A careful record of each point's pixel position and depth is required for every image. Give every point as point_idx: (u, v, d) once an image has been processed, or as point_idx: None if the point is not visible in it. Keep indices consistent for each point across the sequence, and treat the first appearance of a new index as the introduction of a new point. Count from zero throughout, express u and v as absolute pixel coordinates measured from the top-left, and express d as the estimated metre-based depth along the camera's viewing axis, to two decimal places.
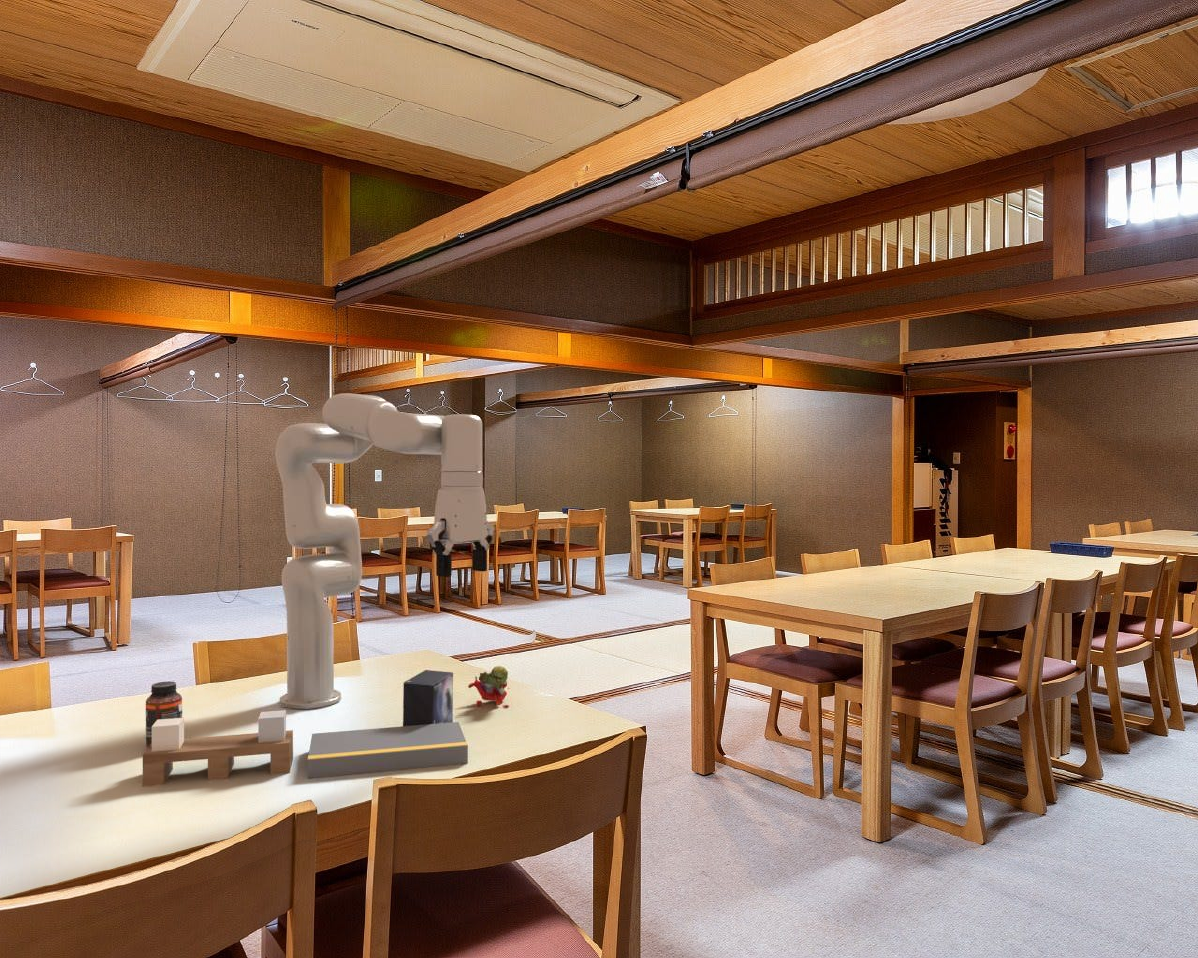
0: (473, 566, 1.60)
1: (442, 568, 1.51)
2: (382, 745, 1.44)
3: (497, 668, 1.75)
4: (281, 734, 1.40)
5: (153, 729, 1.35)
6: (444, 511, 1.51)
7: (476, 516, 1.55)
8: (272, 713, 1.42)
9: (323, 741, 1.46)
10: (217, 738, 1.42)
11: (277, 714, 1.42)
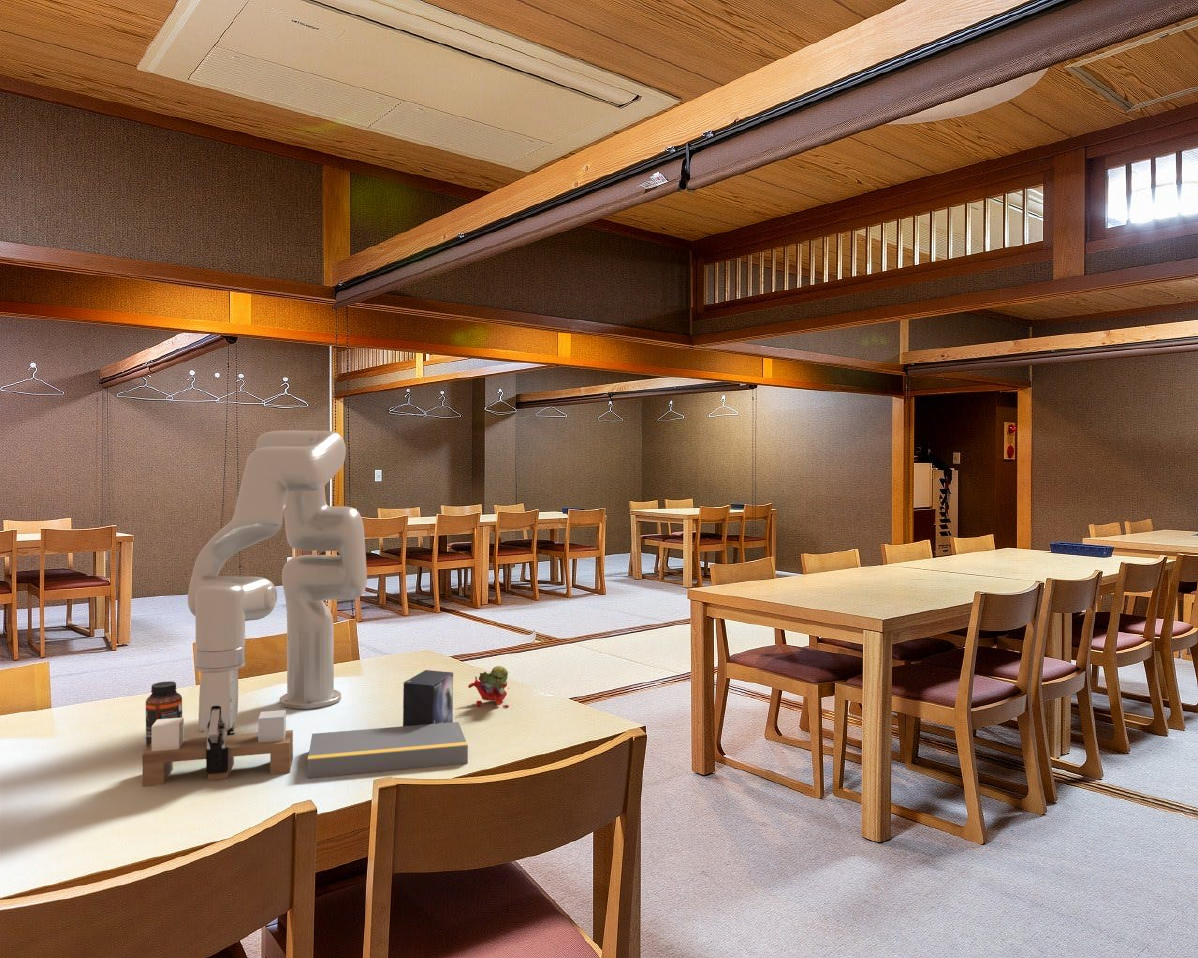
0: None
1: (220, 764, 1.35)
2: (382, 745, 1.44)
3: (497, 668, 1.75)
4: (281, 734, 1.40)
5: (153, 729, 1.35)
6: (217, 697, 1.35)
7: (237, 693, 1.41)
8: (272, 713, 1.42)
9: (323, 741, 1.46)
10: None
11: (277, 714, 1.42)
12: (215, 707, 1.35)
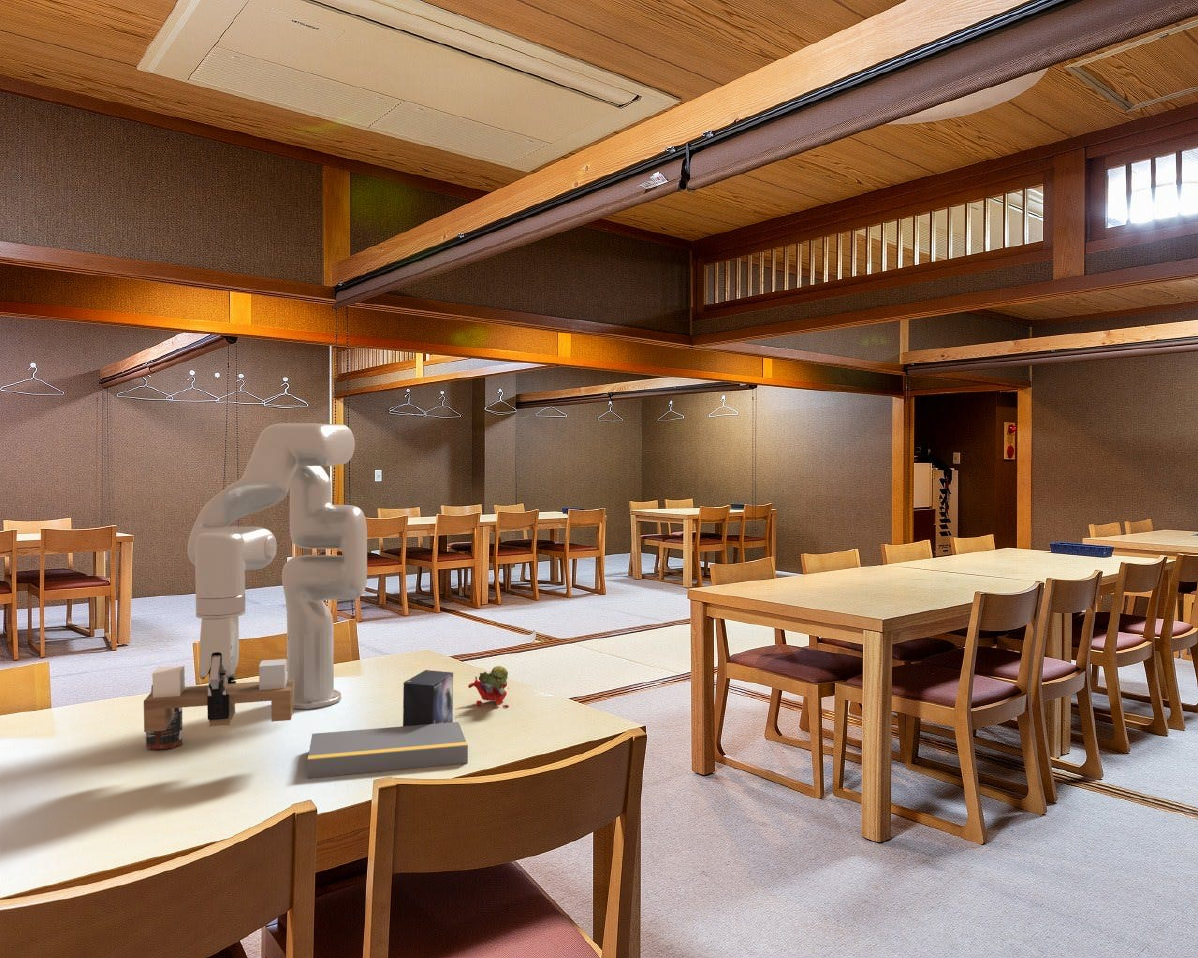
0: None
1: (221, 710, 1.36)
2: (382, 745, 1.44)
3: (497, 668, 1.75)
4: (282, 682, 1.41)
5: (154, 676, 1.35)
6: (218, 644, 1.35)
7: (238, 642, 1.42)
8: (273, 661, 1.43)
9: (323, 741, 1.46)
10: None
11: (277, 663, 1.42)
12: (216, 654, 1.35)
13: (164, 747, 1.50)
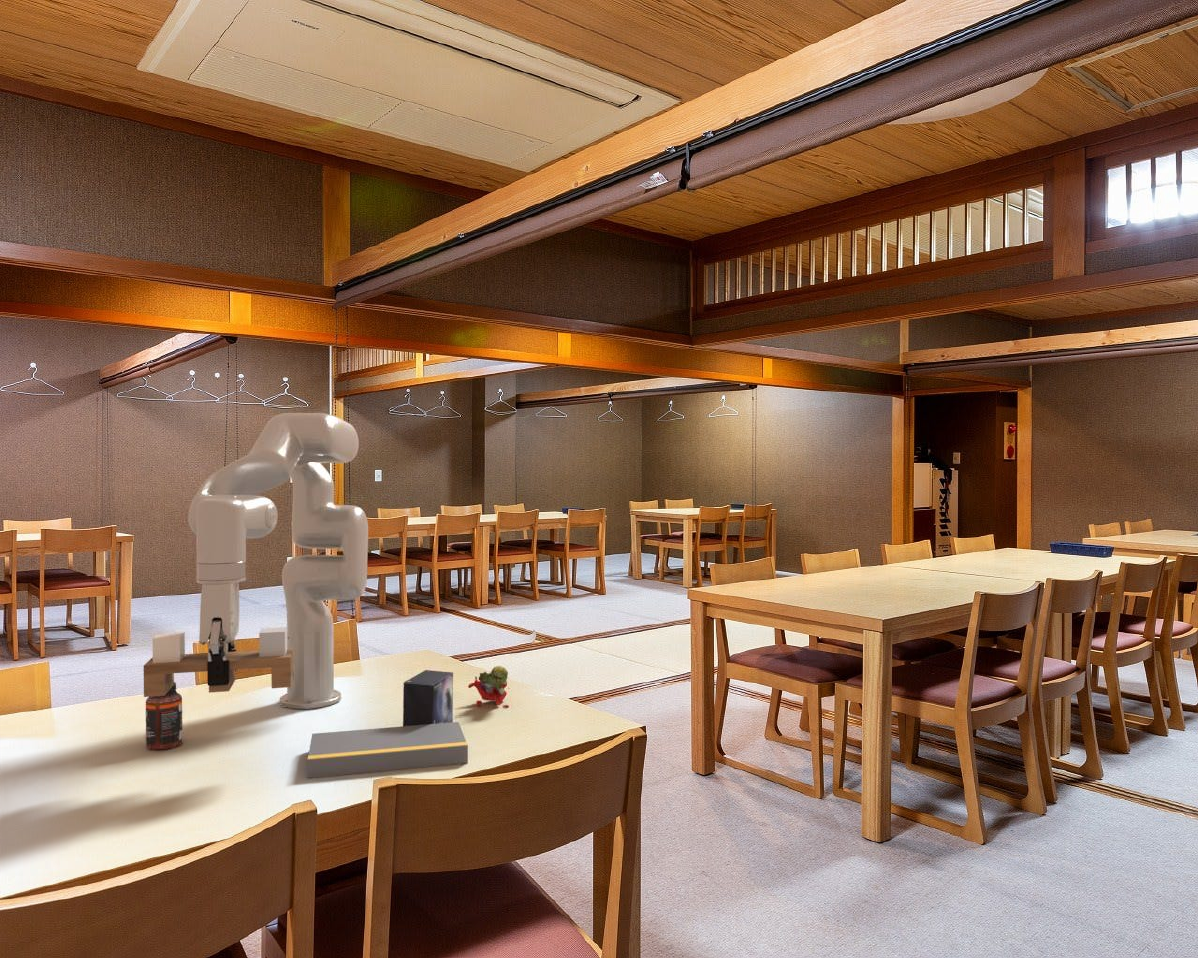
0: None
1: (221, 676, 1.35)
2: (382, 745, 1.44)
3: (497, 668, 1.75)
4: (282, 649, 1.40)
5: (154, 641, 1.35)
6: (218, 609, 1.35)
7: (238, 609, 1.41)
8: (273, 629, 1.42)
9: (323, 741, 1.46)
10: None
11: (278, 630, 1.42)
12: (216, 619, 1.35)
13: (164, 747, 1.50)
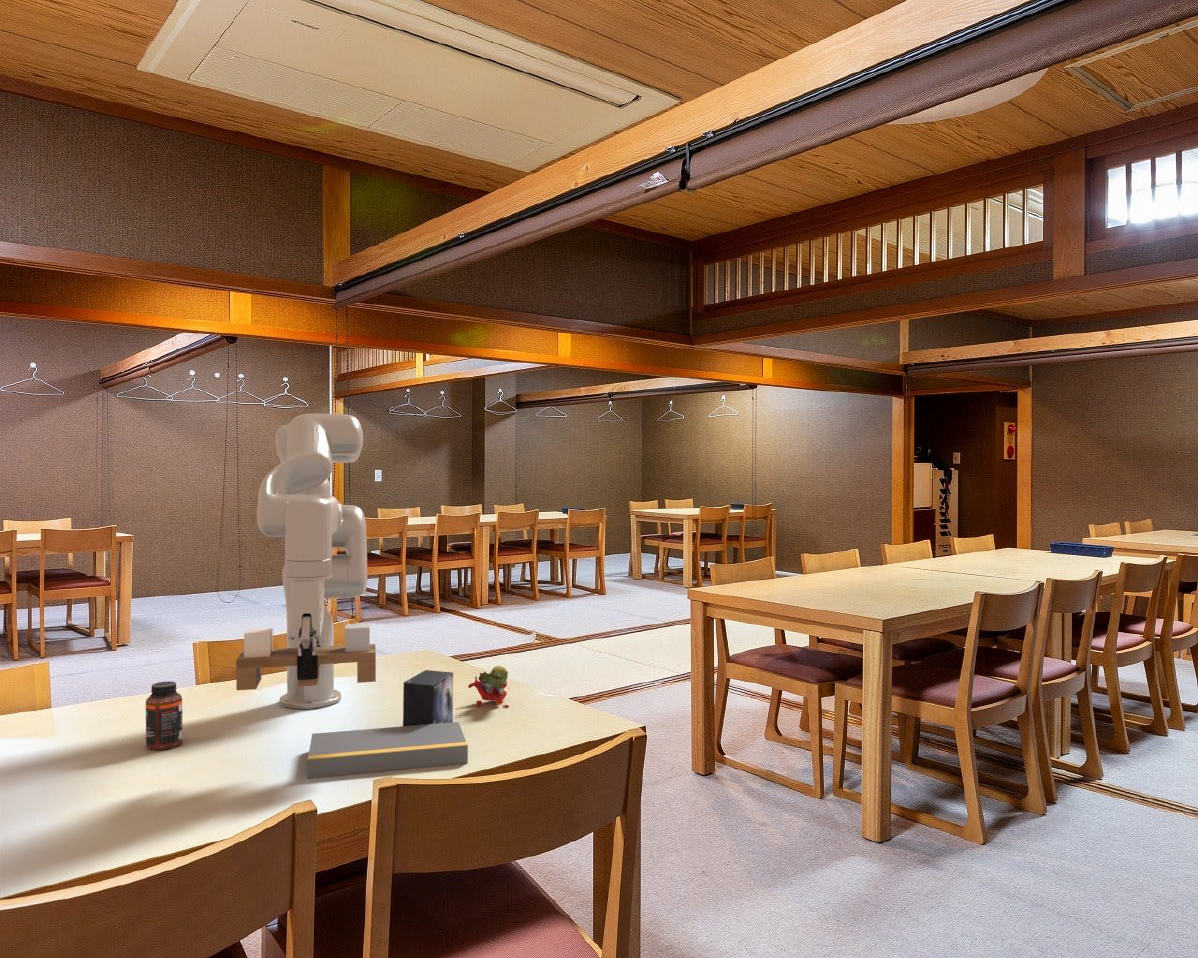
0: None
1: (310, 670, 1.39)
2: (382, 745, 1.44)
3: (497, 668, 1.75)
4: (367, 645, 1.44)
5: (245, 636, 1.39)
6: (308, 605, 1.39)
7: None
8: (357, 625, 1.46)
9: (323, 741, 1.46)
10: None
11: (362, 626, 1.45)
12: (306, 615, 1.39)
13: (164, 747, 1.50)
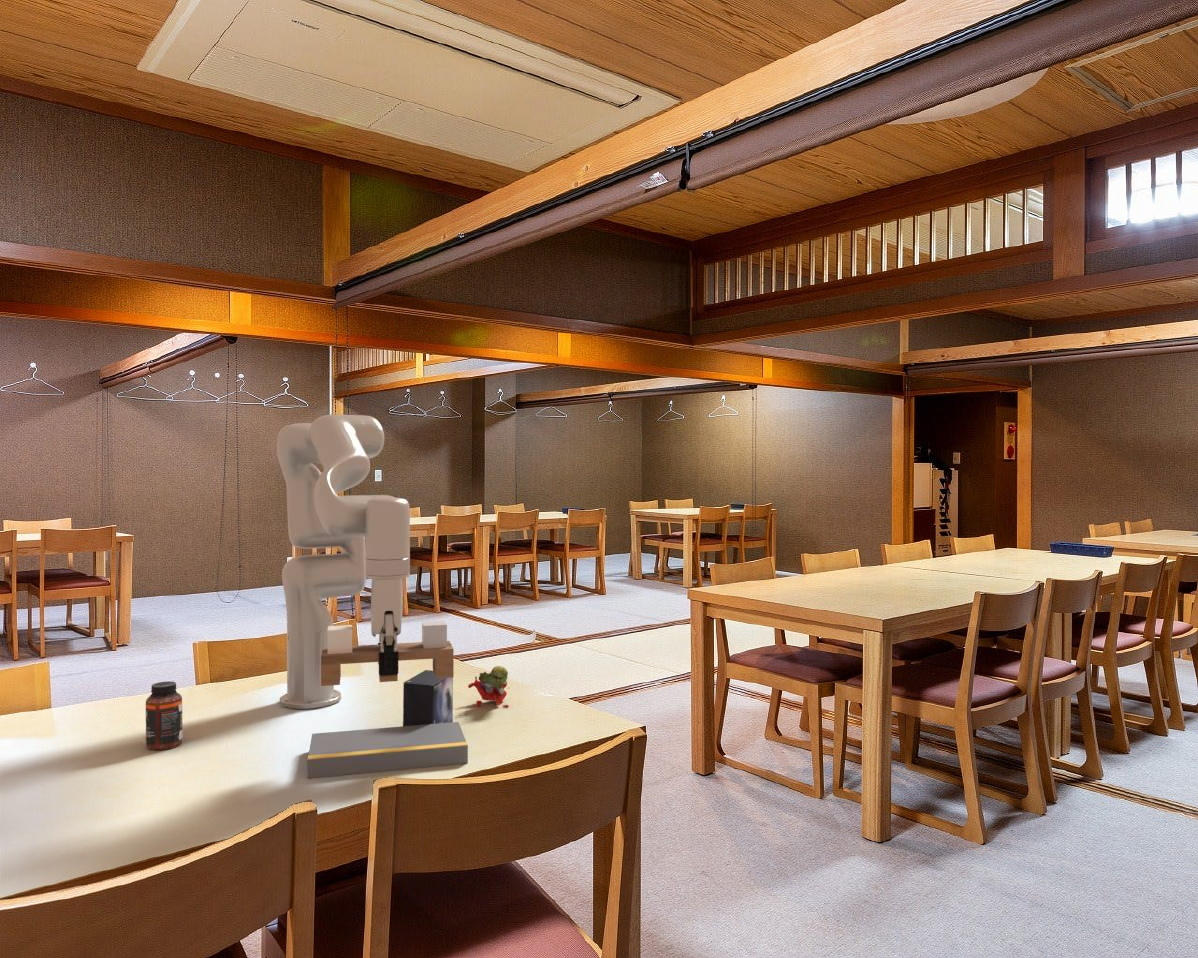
0: None
1: (392, 666, 1.43)
2: (382, 745, 1.44)
3: (497, 668, 1.75)
4: (444, 641, 1.48)
5: (329, 633, 1.42)
6: (390, 603, 1.42)
7: None
8: (433, 622, 1.50)
9: (323, 741, 1.46)
10: None
11: (439, 623, 1.49)
12: (388, 612, 1.42)
13: (164, 747, 1.50)
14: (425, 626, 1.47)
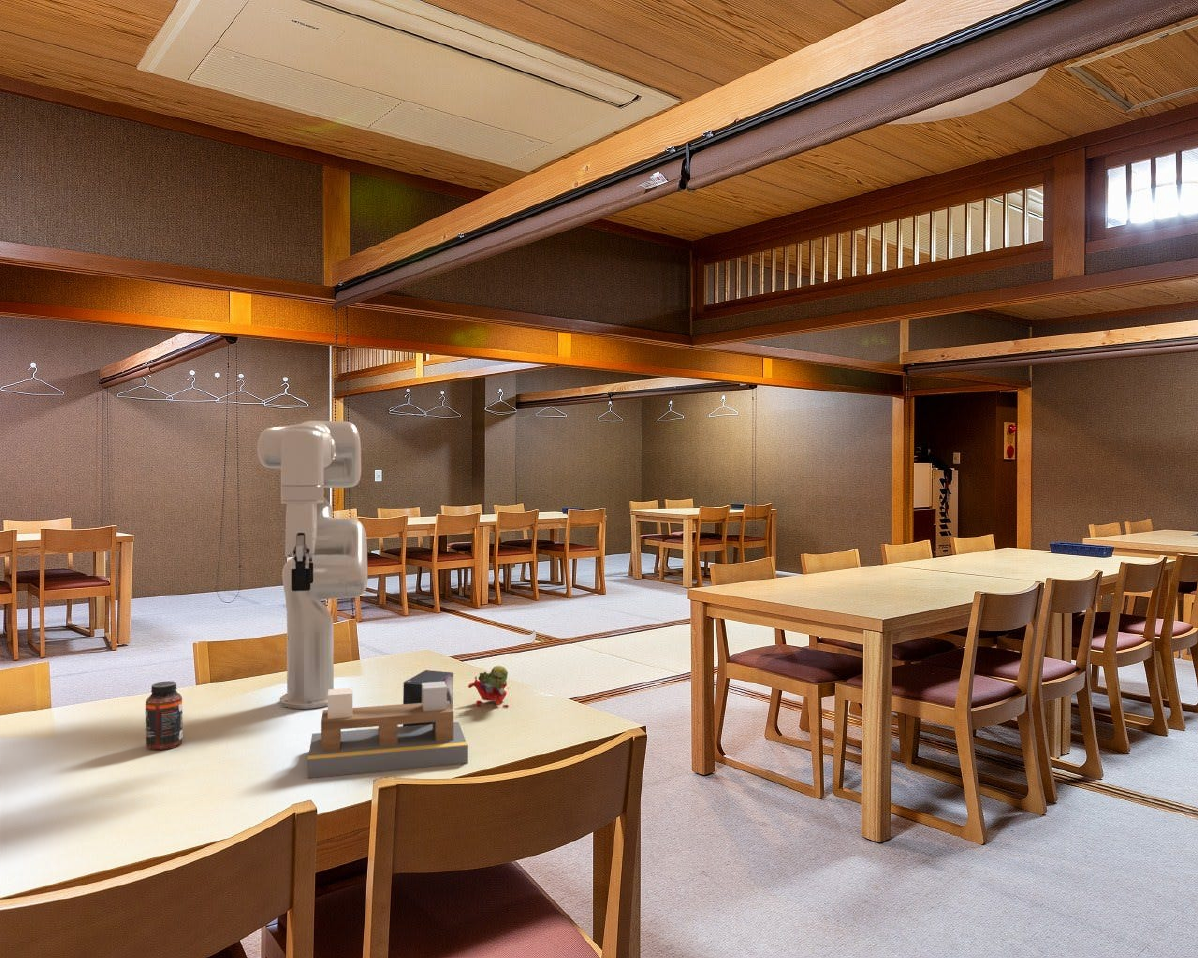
0: None
1: (304, 582, 1.52)
2: None
3: (497, 668, 1.75)
4: (444, 704, 1.48)
5: (329, 697, 1.43)
6: (302, 525, 1.52)
7: None
8: (433, 684, 1.50)
9: None
10: (382, 707, 1.49)
11: (439, 685, 1.49)
12: (300, 533, 1.53)
13: (164, 747, 1.50)
14: (425, 689, 1.47)
